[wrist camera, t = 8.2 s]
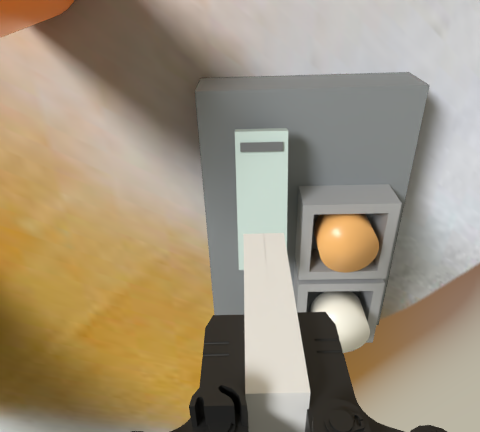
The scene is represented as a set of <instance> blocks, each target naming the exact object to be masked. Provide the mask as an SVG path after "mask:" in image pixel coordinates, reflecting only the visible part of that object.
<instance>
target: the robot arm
mask: <svg viewBox="0 0 480 432" xmlns="http://www.w3.org/2000/svg"><path fill="white" fill-rule="evenodd" d="M243 240H244V315H213V316H212V318H211V320H210V321H209V323H208V325H207V326H206V328H205V338H204V349H203V359H202V369H201V379H200V388H199V389H198V390H197V391H196V392H195V394H194V395H193V396H192V399H191V402H190V405H189V409H190V416H191V418H190V419H189V420H188V422H186V423H185V424H184V425H182V426H181V427H179V428H177V429H175V430H173V431H171V432H404V431H401V430H397V429H394V428H390V427H387V426H385V425H382V424H380V423H377V422H376V421H374V420H373V419H371V418H370V417H368V415H366V413H365V412H363V410H362V409H361V407H360V406H359V405H358V403H357V400H356V398H355V395H354V391H353V387H352V384H351V380H350V377H349V373H348V369H347V366H346V362H345V358H344V354H343V352H342V347H341V343H340V341H339V335H338V332H337V328H336V324H335V323H334V322H333V321H332V319H331V318H330V317H329V316H328V314H327V313H326V312H297V309H296V303H295V297H294V291H293V285H292V279H291V273H290V267H289V261H288V255H287V249H286V243H285V237H284V233H259V234H243ZM132 432H141V431H132ZM411 432H447V431H445V430H444V429H442V428H438V427H434V426H431V425H425V426H418V427H417V428H415V429H413V430H411Z"/></svg>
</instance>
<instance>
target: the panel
mask: <svg viewBox="0 0 480 432" xmlns="http://www.w3.org/2000/svg"><path fill="white" fill-rule="evenodd" d="M428 90H429V85H428V84H427V83H425V82H424V81H422V80H421V79H419V78H417V77H416V76H414V75H413V74H411V73H409V72H402V73H367V74H331V75H296V76H261V77H225V78H200V81H199V83H198V85H197V88H196V90H195V99H196V110H197V121H198V133H199V144H200V155H201V167H202V178H203V189H204V200H205V212H206V223H207V234H208V246H209V257H210V268H211V280H212V291H213V302H214V314H215V315H244V270H239V258H238V225H237V192H236V159H235V129H268V128H287V130H288V197H287V255H288V261H289V267H290V273H291V279H292V285H293V291H294V297H295V303H296V309H297V312H311V305H312V302H313V301H314V300H315V298H316V297H318V296H319V295H320V294H322V293H324V292H329V291H350V292H352V293H354V294H355V295H356V296H357V297H358V298H359V299H360V302H361V305H362V307H363V310H364V313H365V316H366V319H367V322H368V325H369V328H370V336H369V338H368V340H367V341H366V342H373V338H374V333H375V328H376V325H378V324H379V319H380V315H381V310H382V305H383V301H384V296H385V291H386V287H387V282H388V277H389V273H390V268H391V263H392V259H393V254H394V249H395V245H396V240H397V235H398V230H399V226H400V221H401V216H402V212H403V207H404V202H405V198H406V193H407V188H408V184H409V179H410V174H411V170H412V165H413V160H414V156H415V151H416V146H417V142H418V137H419V132H420V127H421V123H422V118H423V113H424V109H425V104H426V99H427V95H428ZM320 214H366V216H367V218H368V220H369V222H370V224H371V226H372V228H373V230H374V232H375V234H376V236H377V238H378V241H379V250H378V253H377V256H376V257H375V259H374V260H373V261H372V262H371V263H370V264H369V265H368V266H366V267H364V268H362V269H360V270H358V271H354V272H347V273H344V272H337V271H334V270H331V269H330V268H328V267H327V266H326V265H325V264H324V263H323V262H322V260H321V258H320V254H319V250H318V247H317V243H316V239H315V235H314V224H315V222H316V220H317V218H318V216H319V215H320Z"/></svg>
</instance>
